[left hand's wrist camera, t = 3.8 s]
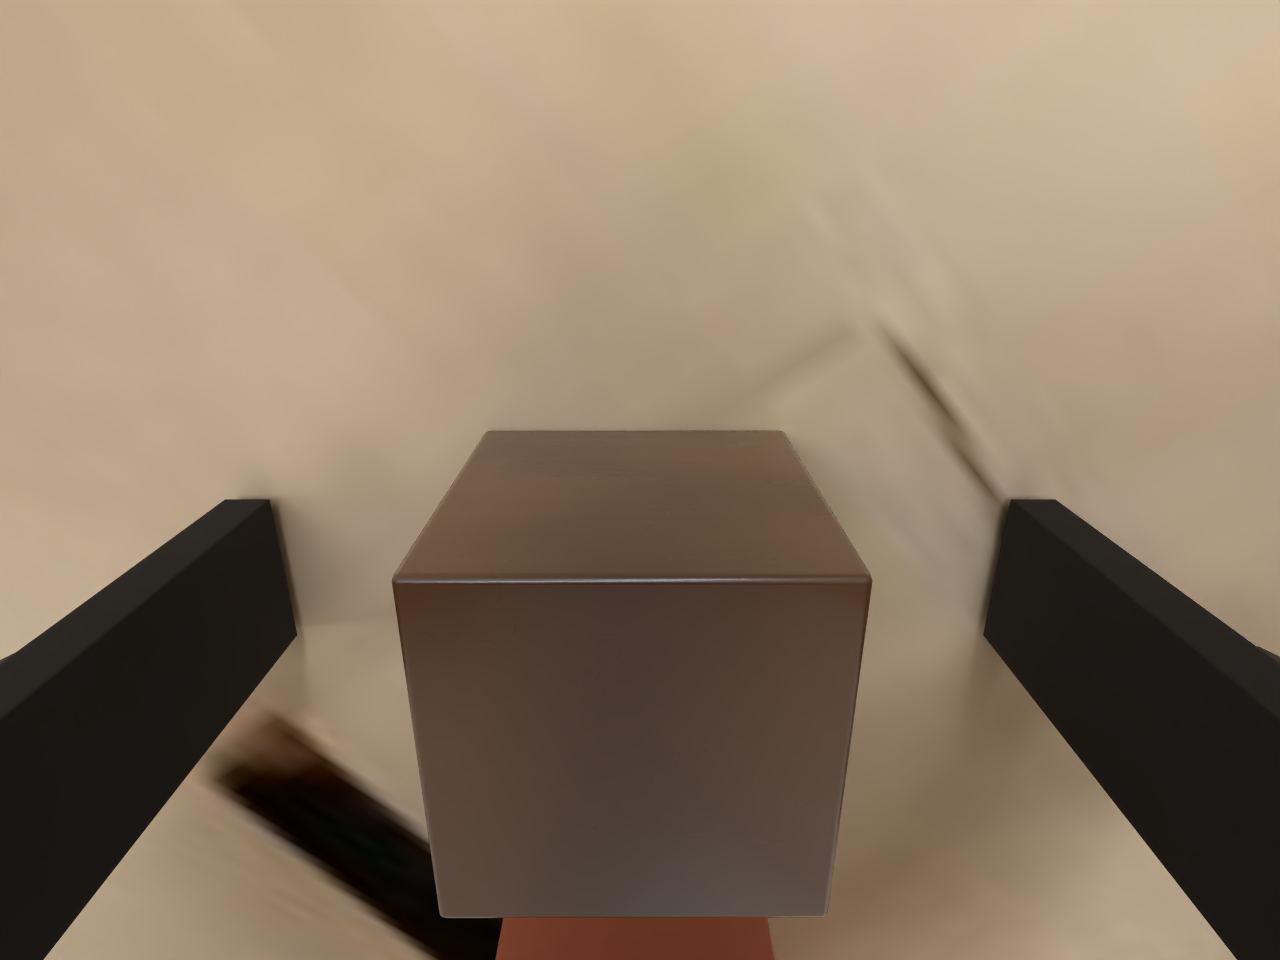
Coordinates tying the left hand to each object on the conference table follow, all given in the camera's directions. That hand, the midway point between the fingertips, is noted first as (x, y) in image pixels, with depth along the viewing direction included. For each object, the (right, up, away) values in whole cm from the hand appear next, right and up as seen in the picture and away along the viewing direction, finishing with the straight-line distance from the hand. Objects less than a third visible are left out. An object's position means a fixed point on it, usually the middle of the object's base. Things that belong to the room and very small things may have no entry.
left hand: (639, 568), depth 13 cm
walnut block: (0, 0, 0) cm, 0 cm away
